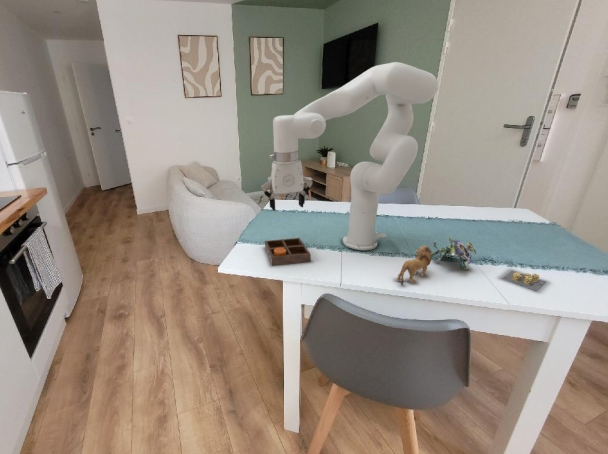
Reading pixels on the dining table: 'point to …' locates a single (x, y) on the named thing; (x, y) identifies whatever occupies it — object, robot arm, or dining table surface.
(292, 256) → the grid
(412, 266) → the lion figurine
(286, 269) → the dining table surface
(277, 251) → the orange short cylinder
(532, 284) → the dice set
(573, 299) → the dining table surface
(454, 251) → the passion flower
